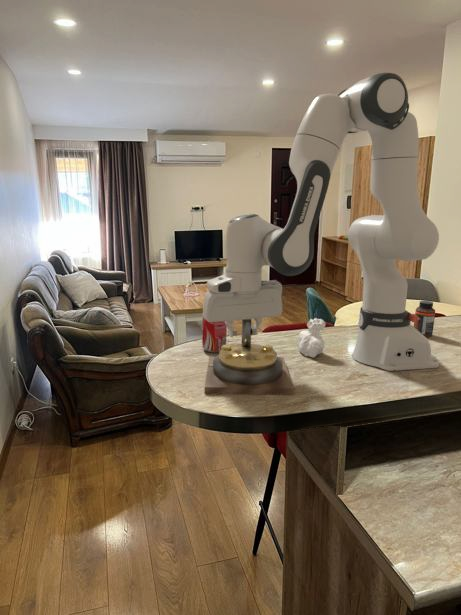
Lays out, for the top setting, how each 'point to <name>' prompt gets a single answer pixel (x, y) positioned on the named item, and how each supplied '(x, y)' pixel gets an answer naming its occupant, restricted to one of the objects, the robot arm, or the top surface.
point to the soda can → (213, 335)
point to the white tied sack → (311, 338)
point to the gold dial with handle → (247, 353)
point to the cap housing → (247, 379)
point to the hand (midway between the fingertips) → (243, 335)
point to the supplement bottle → (425, 318)
